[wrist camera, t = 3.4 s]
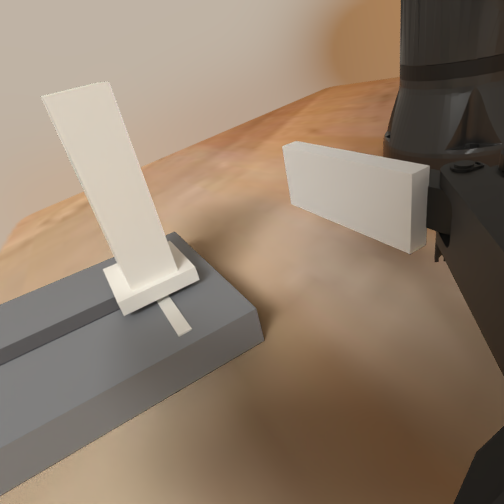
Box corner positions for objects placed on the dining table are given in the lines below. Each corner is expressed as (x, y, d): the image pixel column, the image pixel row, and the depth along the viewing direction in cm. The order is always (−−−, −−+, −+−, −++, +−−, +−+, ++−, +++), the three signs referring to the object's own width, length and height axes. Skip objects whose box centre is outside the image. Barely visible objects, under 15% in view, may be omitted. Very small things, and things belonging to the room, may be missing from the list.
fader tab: (174, 252, 27) (111, 78, 21) (199, 279, 23) (131, 76, 17) (108, 280, 25) (20, 100, 19) (123, 316, 22) (18, 103, 16)
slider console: (183, 255, 33) (174, 230, 32) (264, 340, 22) (256, 306, 20) (-143, 401, 24) (-173, 375, 23) (-281, 660, 13) (-354, 638, 12)
